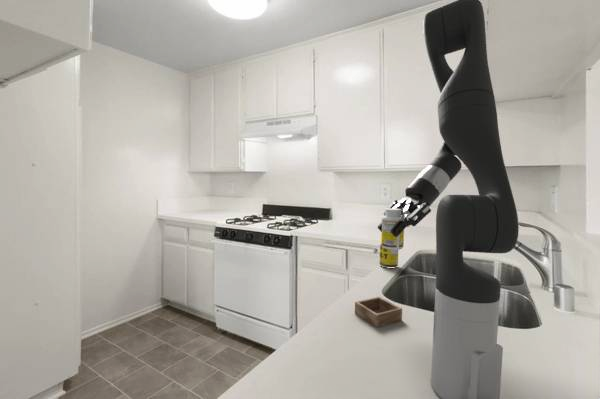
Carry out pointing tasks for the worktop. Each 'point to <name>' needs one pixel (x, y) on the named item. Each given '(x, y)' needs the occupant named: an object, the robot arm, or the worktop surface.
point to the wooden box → (378, 319)
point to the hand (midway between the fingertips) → (386, 232)
